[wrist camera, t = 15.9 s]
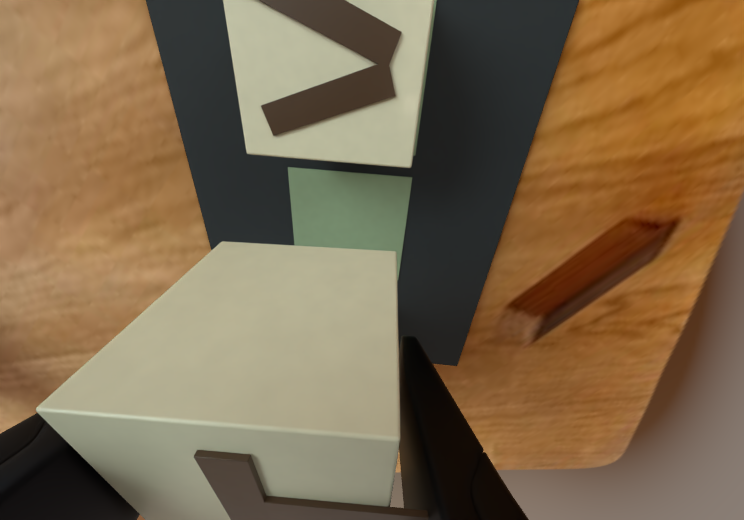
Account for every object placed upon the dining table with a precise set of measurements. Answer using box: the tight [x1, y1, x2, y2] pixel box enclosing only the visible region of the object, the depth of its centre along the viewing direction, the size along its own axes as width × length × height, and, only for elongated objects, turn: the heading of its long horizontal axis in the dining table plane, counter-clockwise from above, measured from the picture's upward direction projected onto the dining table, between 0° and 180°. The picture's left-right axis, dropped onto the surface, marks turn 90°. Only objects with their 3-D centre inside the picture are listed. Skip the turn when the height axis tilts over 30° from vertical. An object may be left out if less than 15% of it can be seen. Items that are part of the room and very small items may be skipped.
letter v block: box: [223, 0, 434, 168], centre depth 9 cm, size 5×5×5 cm
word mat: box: [146, 0, 579, 366], centre depth 15 cm, size 16×20×1 cm
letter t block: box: [36, 241, 428, 520], centre depth 7 cm, size 6×5×5 cm
